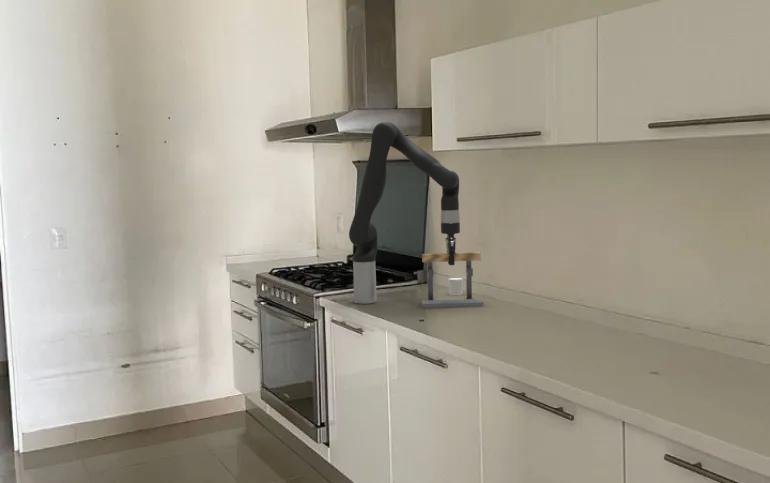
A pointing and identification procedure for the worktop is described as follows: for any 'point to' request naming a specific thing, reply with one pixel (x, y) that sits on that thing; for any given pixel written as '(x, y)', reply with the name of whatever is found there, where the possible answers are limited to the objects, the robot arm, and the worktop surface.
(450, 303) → the slate mat
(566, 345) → the worktop surface
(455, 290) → the beige white-topped cylinder
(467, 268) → the charcoal rack
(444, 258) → the oak rail
